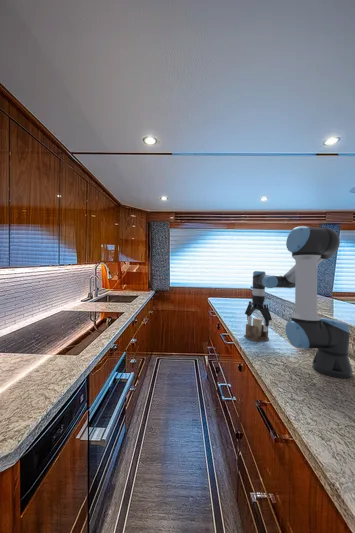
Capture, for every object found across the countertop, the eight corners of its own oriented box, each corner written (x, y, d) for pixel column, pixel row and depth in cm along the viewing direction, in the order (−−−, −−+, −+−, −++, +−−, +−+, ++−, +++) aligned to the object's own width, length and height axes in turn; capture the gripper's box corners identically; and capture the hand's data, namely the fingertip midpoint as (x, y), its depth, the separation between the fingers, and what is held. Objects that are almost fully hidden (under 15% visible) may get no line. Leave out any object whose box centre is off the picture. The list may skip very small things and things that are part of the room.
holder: (268, 339, 146) (269, 326, 146) (256, 341, 141) (256, 328, 141) (256, 334, 155) (257, 322, 155) (244, 336, 150) (244, 324, 150)
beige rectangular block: (263, 337, 147) (263, 319, 147) (256, 337, 144) (257, 320, 144) (256, 334, 152) (257, 317, 152) (250, 335, 149) (251, 318, 149)
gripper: (278, 297, 138) (277, 333, 138) (248, 292, 160) (247, 323, 160) (270, 298, 135) (268, 334, 135) (240, 293, 157) (239, 324, 157)
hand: (257, 328), depth 148 cm, fingers open, 13 cm apart
